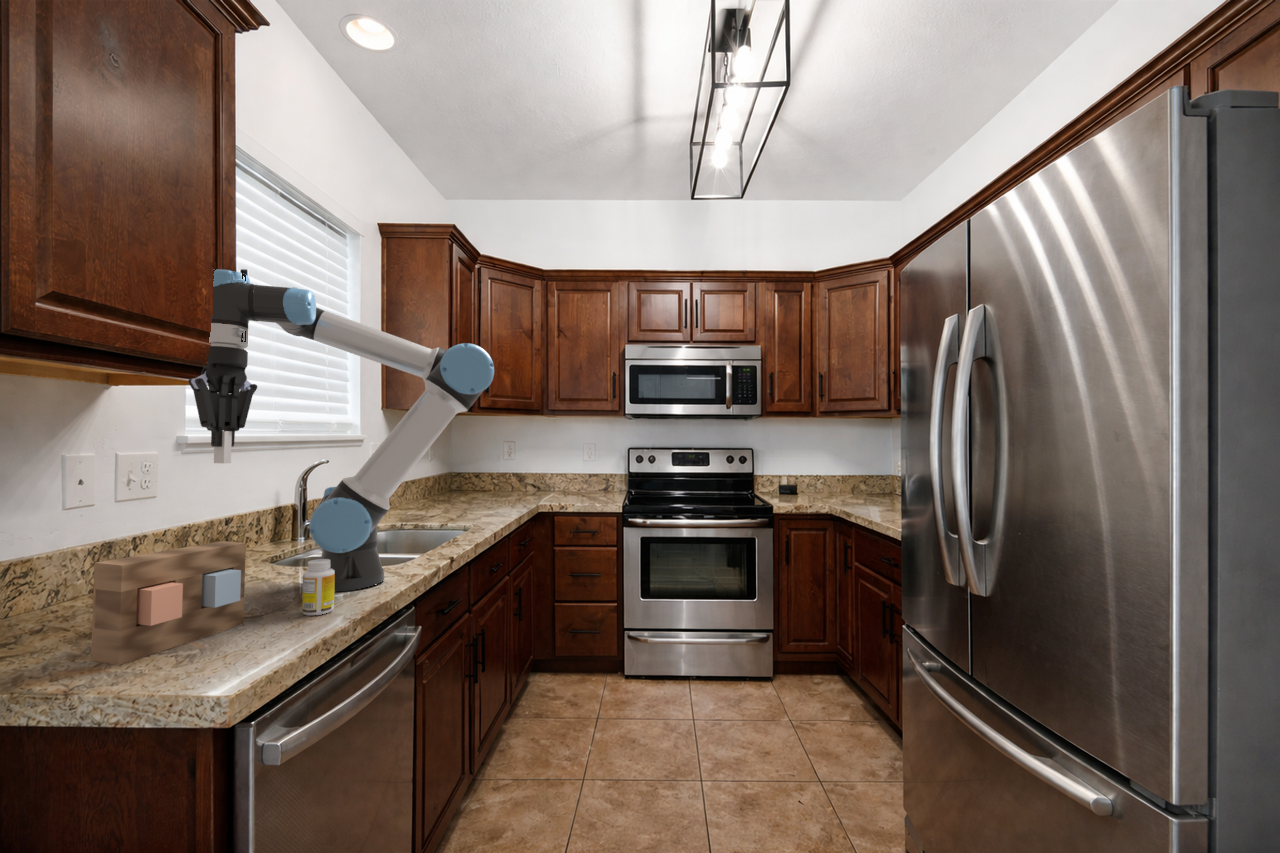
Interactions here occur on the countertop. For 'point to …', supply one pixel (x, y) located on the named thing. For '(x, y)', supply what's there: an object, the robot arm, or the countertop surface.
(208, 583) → the slate button
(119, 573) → the brown wooden block
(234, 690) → the countertop surface
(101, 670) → the countertop surface
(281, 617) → the countertop surface
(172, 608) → the terracotta button
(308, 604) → the supplement bottle
